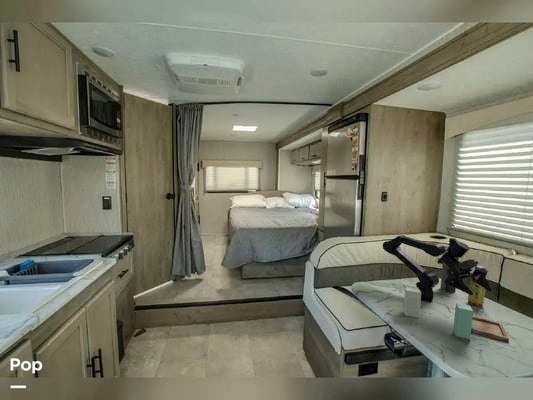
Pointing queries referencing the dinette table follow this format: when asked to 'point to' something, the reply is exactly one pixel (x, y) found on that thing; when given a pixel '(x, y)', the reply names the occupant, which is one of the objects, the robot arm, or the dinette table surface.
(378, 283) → the dinette table surface
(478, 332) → the walnut tray
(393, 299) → the dinette table surface
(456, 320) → the teal block
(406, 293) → the skincare box
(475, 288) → the sauce bottle
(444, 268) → the wine bottle
